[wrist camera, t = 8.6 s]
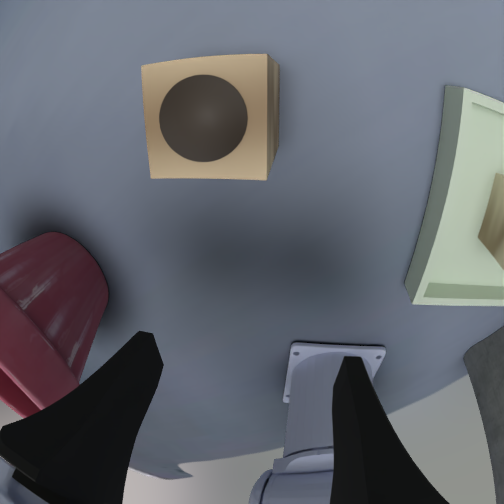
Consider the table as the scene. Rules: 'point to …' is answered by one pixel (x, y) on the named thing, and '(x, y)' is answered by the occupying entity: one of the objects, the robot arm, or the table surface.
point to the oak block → (212, 116)
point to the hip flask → (490, 398)
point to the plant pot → (46, 319)
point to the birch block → (494, 221)
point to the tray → (460, 207)
